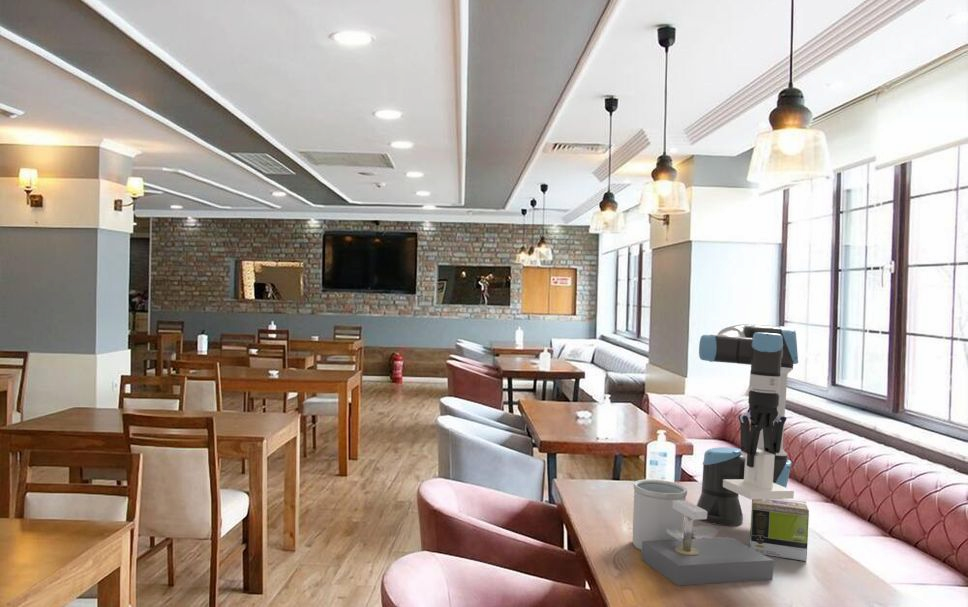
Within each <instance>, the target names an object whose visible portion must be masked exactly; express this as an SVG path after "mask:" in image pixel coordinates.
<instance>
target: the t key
mask: <svg viewBox="0 0 968 607" xmlns="http://www.w3.org/2000/svg"><path fill="white" fill-rule="evenodd" d="M672 508H673V509H675V510H677V511H679V512H680V513H682V514H684V526H683V533H681V532H680V531H678V530H676V529H675V528H671V529H667V531H666V532H667V533H668V534H670V535H671V536H673V537H675V538H676V539H678V540H680V541H681V542H683V550H685V551H691V547H692V539H693V533H694V532H693V529H694V520H699V519H707V511H706V510H704V509H702V508H700V507H698V506H697V504H694V503H692V502H691V501H688V500H687V499H686V500H679V501H673V507H672Z"/></svg>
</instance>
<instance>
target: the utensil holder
mask: <svg viewBox="0 0 968 607" xmlns="http://www.w3.org/2000/svg"><path fill="white" fill-rule="evenodd" d="M633 489H634V493H633V494H634V495H633V516H632V517H633V518H632V543H633V544H632V545H633V546H634V547H635V548H637V549H638V550H640V551H642V541H656V540H678V539H676V538H675V537H673V536H671V535H670V534H668V533H667V532H666V531H667V529H671V528H675V529H676V530H678V531H680V532H681V533H683V534H684V520H685V515H684V514H682V513H680V512H679V511H677V510H675V509H673V508H672V507H673V501H679V500H686V501H687V499H686V498H687V495H688V488H687V487H686V486H684V485H683V484H681V483H677V482H674V481H669V480H663V479H652V478H650V479H648V478H647V479H645V478H644V479H638V480H636V481H634V483H633Z"/></svg>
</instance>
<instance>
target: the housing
mask: <svg viewBox="0 0 968 607" xmlns="http://www.w3.org/2000/svg"><path fill="white" fill-rule="evenodd" d="M640 560H641V561H642V562H644V563H645V564H646V565H648V566H649V567H651V568H652V569H654V570H655V571H657V572H658V573H659V574H661V575H662V576H663V577H665V578H666V579H667V580H669V581H670V582H672V583H673V584H675V585H676V586H677V587H679V586H695V585H708V584H709V585H710V584H722V583H723V584H725V583H737V582H738V583H739V582H752V581H754V582H755V581H769V580H773V575H774V559H772V558H770V557H768V555H763V554H761V553H759V552H757V551H756V550H754V549H752V548H751V546H748V545H746V544H744V543H742V542H740V541H739V540H738V539H735V538H733V537H732V536H727V537H705V538H692V547H691V551H685V550H683V542H681V541H680V540H656V541H642V550H641V559H640Z"/></svg>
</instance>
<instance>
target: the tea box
mask: <svg viewBox="0 0 968 607" xmlns="http://www.w3.org/2000/svg"><path fill="white" fill-rule="evenodd" d="M750 516H751V517H750V534H749V538H750V539H749V544H750V546H749V547H750V548H752V549H754V550H756V551H757V552H759V553H761V554H763V555H765V556H771V557H778V558H784V559H789V560H797V561H801V562H802V561H803V562H807V559H808V558H807V556H808V542H809V540H808V539H809V522H810V521H809V519H810V518H809V517H810V510H809V507H808V504H807V502H806V501H804V500H803V501H802V500H792V499H751V513H750Z"/></svg>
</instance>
